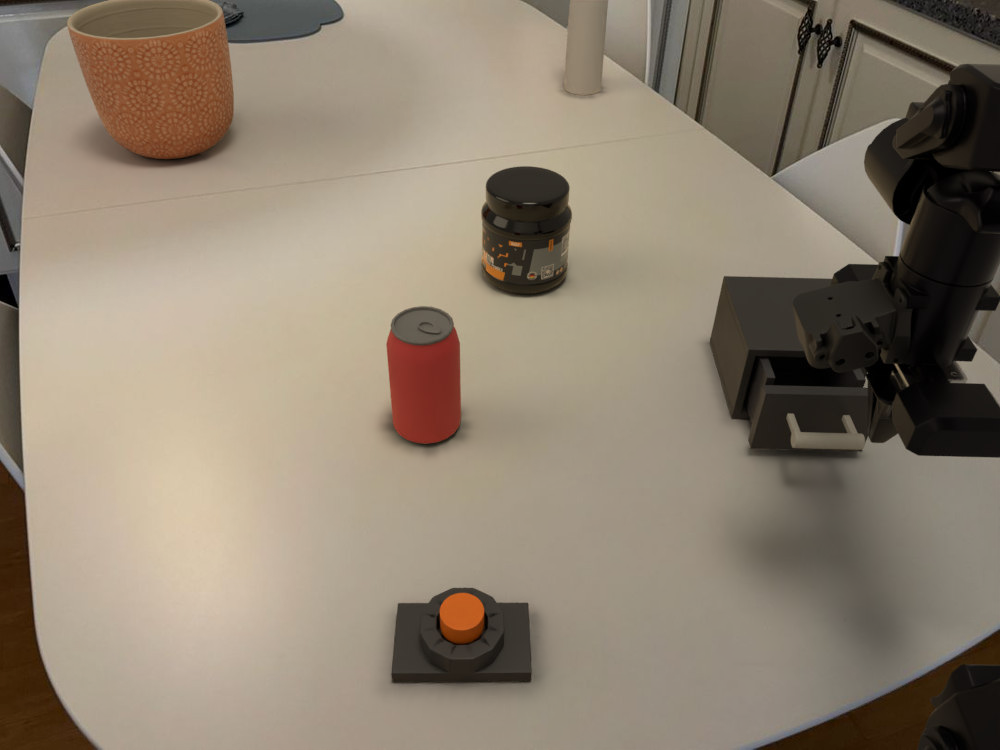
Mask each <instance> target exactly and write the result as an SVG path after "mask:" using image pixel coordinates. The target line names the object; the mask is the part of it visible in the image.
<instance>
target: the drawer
mask: <svg viewBox="0 0 1000 750" xmlns="http://www.w3.org/2000/svg"><path fill="white" fill-rule="evenodd" d="M866 381H867V378H866V377H864V375H863V373H862V371H861V369H855V370H851V371H847V372H843V373H838V372H836V371H834V370H833V369H832V367H830V368H824V369H819V368H815V367H813V366H811V365H810V364H809V363H808V360H807V357H769V356H755V360H754V364H753V368H752V372H751V376H750V380H749V383H748V387H747V391H746V395H745V399H744V401H745V404H746V407H747V410H748V413H749V417H750V419H749V420H750V423H751V428H750V432H749V435H748V439H747V442H748V445H749V448H750V449H751V450H782V451H783V450H785V451H788V450H789V451H824V452H827V451H828V452H863V450H864V448H865V446H866V442H867V440H868V438H869V437H868V434H867V425H868V387H865V384H866Z"/></svg>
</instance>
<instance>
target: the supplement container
mask: <svg viewBox="0 0 1000 750" xmlns="http://www.w3.org/2000/svg"><path fill="white" fill-rule="evenodd" d="M570 187H571V186H570V184H569V182H568V180H567V179H566V178H565V177H564V176H563V175H561V174H560V173H558V172H556V171H553V170H551V169H549V168H544V167H539V166H531V165H527V166H526V165H523V166H513V167H512V166H511V167H507V168H504V169H501V170H498V171H496V172H495V173H493V174H491V175H490V176H489V177H488V179H487V180H486V181H485V201H484V203H483V204H482V206H481V210H480V218H481V223H482V224H481V229H482V230H481V263H480V264H481V271H482V274H483V276H484V277H485V279H486V280H487V281H488V282H489V283H490V284H492V285H493V286H495V287H496V288H498V289H500V290H502V291H506V292H509V293H514V294H523V295H530V294H537V293H539V294H540V293H543V292H547V291H549V290H551V289H553V288H555V287H556V286H559V285H560V284H561V283H562V281H564V279H565V277H566V276H567V272H568V268H569V263H568V260H569V245H570V234H571V233H570V231H571V223H572V220H573V211H572V208H571V206H570V204H569V202H570V189H571V188H570Z"/></svg>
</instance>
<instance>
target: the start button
mask: <svg viewBox="0 0 1000 750" xmlns="http://www.w3.org/2000/svg"><path fill="white" fill-rule="evenodd" d="M440 628H441V632H442V634H443V635H444V637H445V638H446V639H447V640H449V641H450V642H453V643H456V644H468V643H471V642H473V641H475V640H476V639H478V638H479V637H480V635H481V634H482V632H483V630H484V606H483V604H482V602H481V601H480V600H479V599H478V598H477V597H476V596H474V595H471V594H468V593H457V594H453V595H451V596H449V597H448V598H446V599H445V600H444V602H443V603H442V605H441V607H440Z"/></svg>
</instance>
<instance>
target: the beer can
mask: <svg viewBox="0 0 1000 750" xmlns="http://www.w3.org/2000/svg"><path fill="white" fill-rule="evenodd" d="M386 356H387V368H388V380H389V392H390V393H389V394H390V403H391V404H390V406H391V415H392V417H391V418H392V425H393V428H394V429H395V431H396V432H397V433H398V435H399V436H401V437H402V438H403V439H405V440H407V441H409V442H413V443H415V444H424V445H428V444H429V445H430V444H435V443H436V444H437V443H439V442H442V441H445V440H446V439H448V438H450V437H451V436H453V435H454V434H455V432H456V431H457V430H458V429H459V427H460V425H461V420H462V392H461V390H462V388H461V386H462V385H461V342H460V339H459V335H458V332H457V329H456V327H455V322H454V320H453V317H452V316H451V315H450V314H449V312H447V311H445V310H443V309H441V308H438V307H434V306H426V305H420V306H414V307H409V308H406V309H403V310H401V311H400V312H398V313H397V314H396V315H395V316H394V317H393V318H392V320H391V322H390V330H389V333H388V336H387V338H386Z"/></svg>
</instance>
